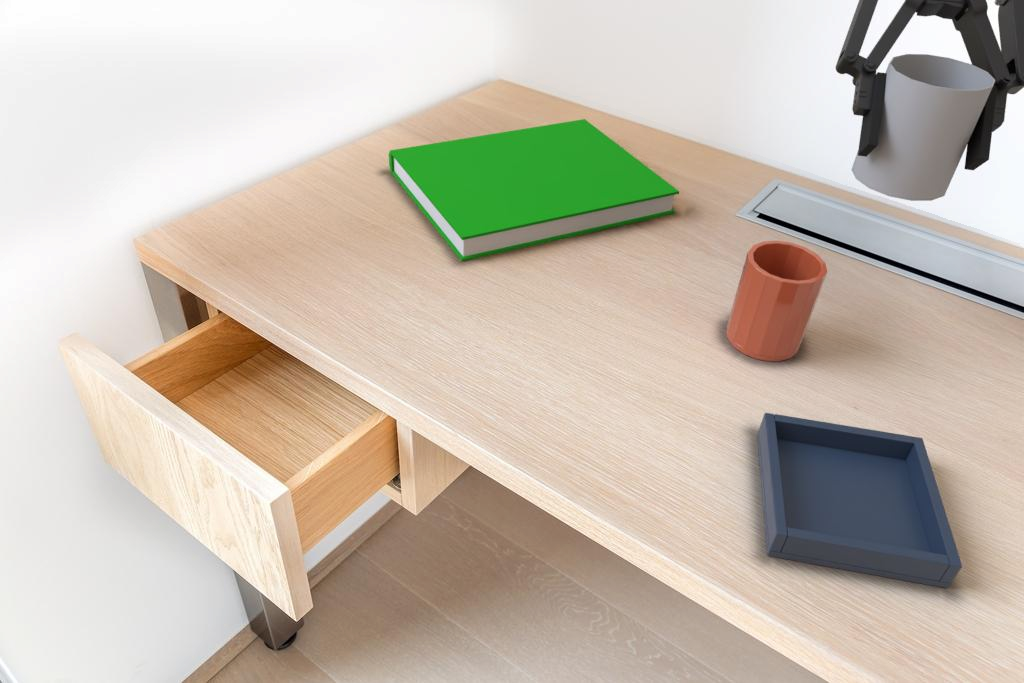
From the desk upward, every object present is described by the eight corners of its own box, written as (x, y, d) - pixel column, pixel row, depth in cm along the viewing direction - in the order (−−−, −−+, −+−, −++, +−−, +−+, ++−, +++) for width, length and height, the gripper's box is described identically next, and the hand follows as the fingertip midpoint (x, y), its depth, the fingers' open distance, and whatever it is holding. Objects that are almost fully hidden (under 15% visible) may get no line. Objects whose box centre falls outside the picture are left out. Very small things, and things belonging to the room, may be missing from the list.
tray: (910, 459, 66) (922, 437, 64) (947, 588, 56) (962, 566, 55) (756, 434, 67) (764, 412, 66) (767, 555, 58) (776, 533, 56)
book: (674, 213, 96) (679, 191, 94) (461, 261, 85) (462, 237, 84) (580, 137, 111) (582, 117, 110) (389, 170, 101) (388, 148, 99)
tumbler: (795, 322, 80) (822, 246, 75) (802, 366, 75) (831, 288, 69) (725, 312, 81) (746, 236, 75) (727, 355, 76) (750, 276, 70)
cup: (850, 188, 71) (890, 79, 65) (851, 151, 77) (887, 48, 71) (951, 208, 69) (1001, 97, 63) (944, 168, 75) (989, 64, 69)
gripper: (1052, -49, 73) (1027, 187, 71) (817, -72, 76) (785, 156, 73) (1105, -104, 66) (1078, 158, 64) (842, -127, 68) (807, 125, 66)
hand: (921, 157), depth 68 cm, fingers closed on cup, 8 cm apart
